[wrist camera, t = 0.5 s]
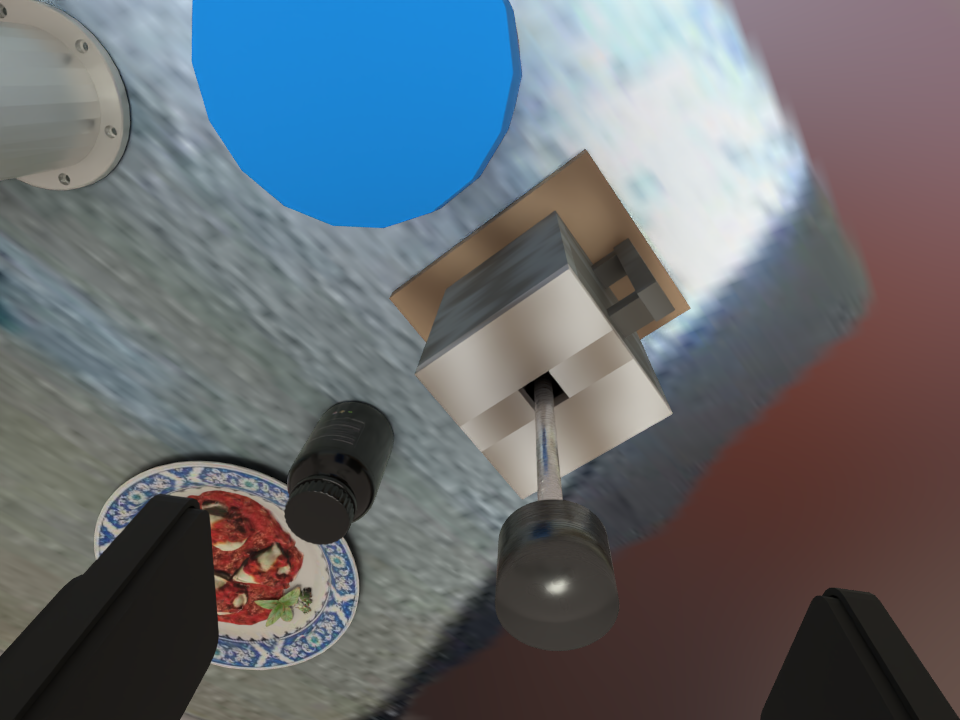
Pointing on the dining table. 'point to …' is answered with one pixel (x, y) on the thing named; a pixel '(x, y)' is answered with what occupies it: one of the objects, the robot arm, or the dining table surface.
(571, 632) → the grey rod with knob
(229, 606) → the ceramic plate
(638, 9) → the dining table surface
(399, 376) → the dining table surface
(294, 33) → the thermos
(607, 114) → the dining table surface
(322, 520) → the supplement bottle
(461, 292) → the stand
